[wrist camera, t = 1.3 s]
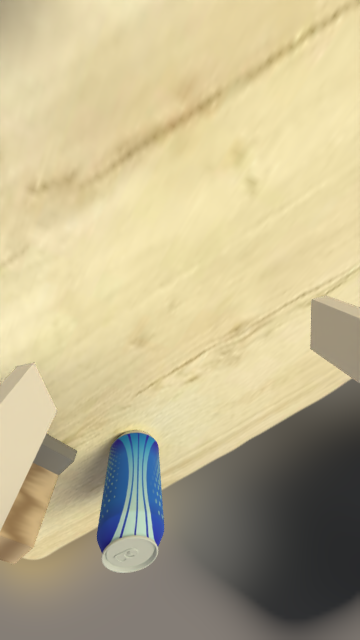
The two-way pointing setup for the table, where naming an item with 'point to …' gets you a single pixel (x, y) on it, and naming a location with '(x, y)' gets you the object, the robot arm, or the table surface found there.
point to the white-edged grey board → (54, 455)
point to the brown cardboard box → (26, 514)
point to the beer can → (131, 504)
